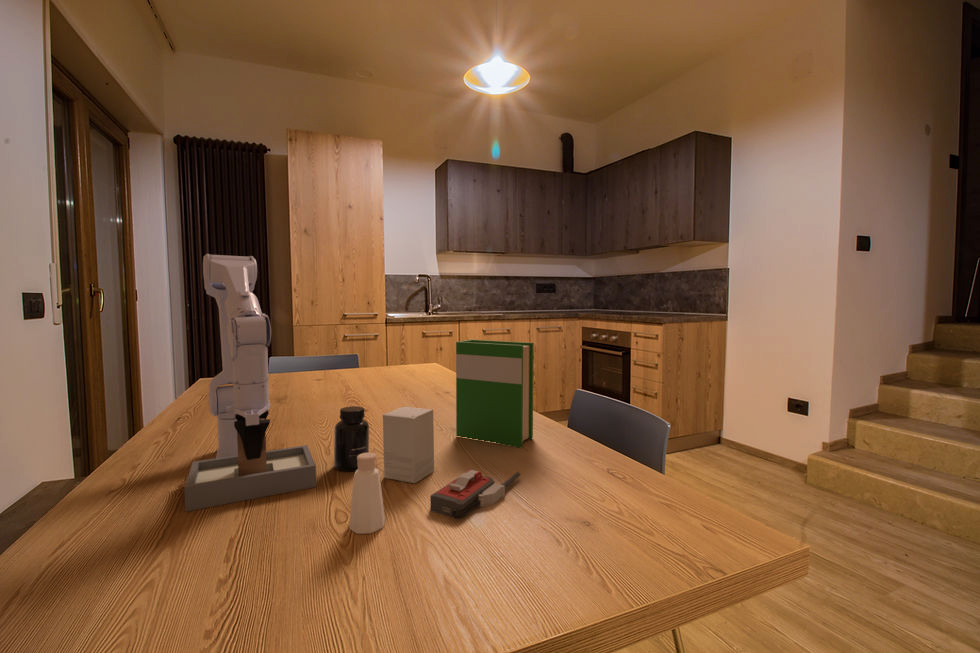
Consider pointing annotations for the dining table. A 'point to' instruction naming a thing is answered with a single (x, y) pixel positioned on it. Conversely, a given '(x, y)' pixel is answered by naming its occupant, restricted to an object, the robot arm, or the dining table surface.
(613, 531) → the dining table surface
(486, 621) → the dining table surface
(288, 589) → the dining table surface
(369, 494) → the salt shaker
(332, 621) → the dining table surface
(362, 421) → the supplement bottle
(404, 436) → the supplement box
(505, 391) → the hardback book
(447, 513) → the walkie-talkie
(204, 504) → the open box
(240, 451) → the wooden peg
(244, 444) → the robot arm
